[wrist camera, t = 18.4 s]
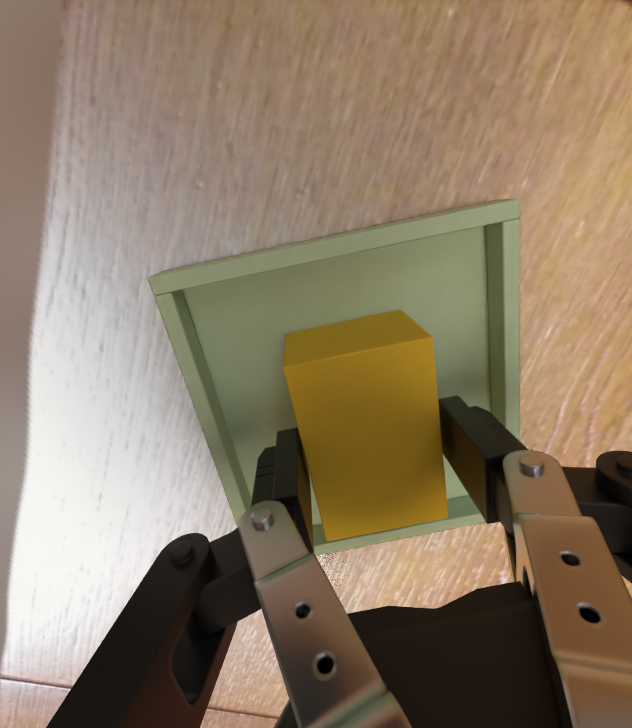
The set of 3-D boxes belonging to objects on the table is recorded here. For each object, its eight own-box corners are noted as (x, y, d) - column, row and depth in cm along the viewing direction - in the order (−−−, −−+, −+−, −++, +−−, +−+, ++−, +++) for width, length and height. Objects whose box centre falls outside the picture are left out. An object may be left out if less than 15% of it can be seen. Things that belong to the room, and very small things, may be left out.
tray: (163, 270, 14) (146, 277, 12) (494, 200, 14) (521, 198, 12) (255, 538, 19) (251, 568, 17) (500, 490, 18) (520, 516, 17)
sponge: (285, 333, 14) (282, 367, 11) (401, 308, 14) (433, 336, 11) (320, 479, 17) (326, 542, 14) (419, 460, 17) (449, 518, 14)
